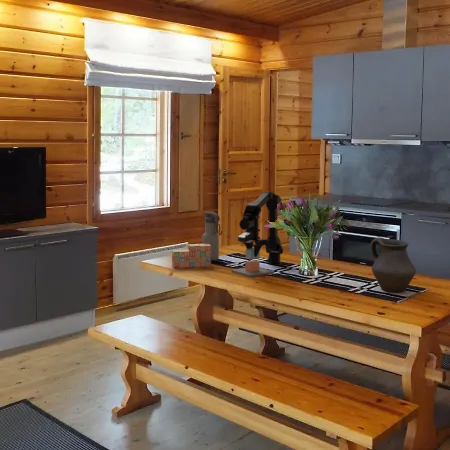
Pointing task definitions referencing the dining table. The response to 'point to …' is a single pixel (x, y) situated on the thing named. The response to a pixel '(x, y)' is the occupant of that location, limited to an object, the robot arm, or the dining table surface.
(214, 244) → the water bottle
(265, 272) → the base plate
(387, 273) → the pitcher
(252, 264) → the terracotta brick
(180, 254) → the stack of blocks
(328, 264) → the dining table surface
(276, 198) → the robot arm
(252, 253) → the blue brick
